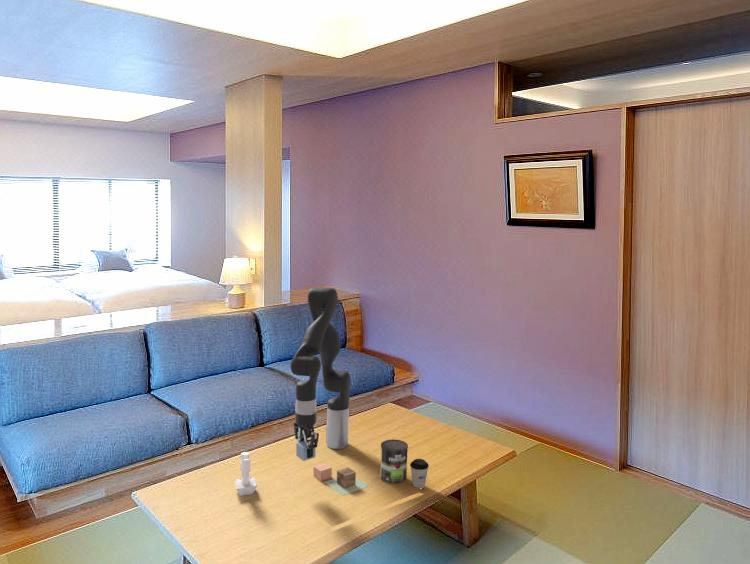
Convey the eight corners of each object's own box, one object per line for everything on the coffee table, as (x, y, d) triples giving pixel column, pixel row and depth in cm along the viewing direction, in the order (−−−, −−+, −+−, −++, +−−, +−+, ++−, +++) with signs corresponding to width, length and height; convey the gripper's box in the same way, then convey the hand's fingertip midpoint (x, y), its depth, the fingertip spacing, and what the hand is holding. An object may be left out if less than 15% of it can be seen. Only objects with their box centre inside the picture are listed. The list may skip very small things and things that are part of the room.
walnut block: (336, 483, 215) (337, 470, 214) (347, 479, 218) (347, 467, 217) (344, 488, 211) (344, 475, 210) (355, 484, 214) (355, 472, 213)
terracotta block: (313, 478, 220) (313, 466, 220) (324, 475, 223) (324, 462, 223) (320, 483, 216) (320, 471, 216) (331, 480, 219) (331, 467, 219)
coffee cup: (405, 485, 216) (406, 460, 215) (418, 480, 220) (419, 455, 219) (418, 493, 211) (419, 467, 209) (431, 487, 215) (432, 462, 214)
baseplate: (323, 484, 215) (323, 482, 215) (349, 475, 223) (349, 473, 223) (342, 498, 206) (342, 495, 206) (368, 488, 213) (368, 485, 213)
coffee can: (410, 484, 217) (411, 449, 215) (384, 487, 215) (385, 451, 212) (402, 471, 227) (403, 438, 225) (376, 474, 224) (377, 440, 222)
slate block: (296, 455, 209) (296, 442, 208) (308, 452, 212) (308, 439, 211) (303, 461, 205) (303, 447, 205) (315, 457, 208) (315, 444, 208)
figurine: (253, 484, 215) (253, 446, 212) (257, 496, 206) (257, 457, 204) (233, 487, 212) (233, 449, 210) (237, 500, 203) (236, 460, 201)
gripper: (286, 406, 209) (287, 450, 212) (307, 418, 198) (307, 465, 201) (304, 401, 214) (304, 444, 217) (325, 414, 203) (325, 459, 205)
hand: (306, 454), depth 209 cm, fingers closed on slate block, 5 cm apart
